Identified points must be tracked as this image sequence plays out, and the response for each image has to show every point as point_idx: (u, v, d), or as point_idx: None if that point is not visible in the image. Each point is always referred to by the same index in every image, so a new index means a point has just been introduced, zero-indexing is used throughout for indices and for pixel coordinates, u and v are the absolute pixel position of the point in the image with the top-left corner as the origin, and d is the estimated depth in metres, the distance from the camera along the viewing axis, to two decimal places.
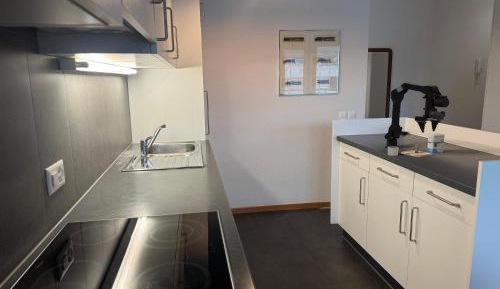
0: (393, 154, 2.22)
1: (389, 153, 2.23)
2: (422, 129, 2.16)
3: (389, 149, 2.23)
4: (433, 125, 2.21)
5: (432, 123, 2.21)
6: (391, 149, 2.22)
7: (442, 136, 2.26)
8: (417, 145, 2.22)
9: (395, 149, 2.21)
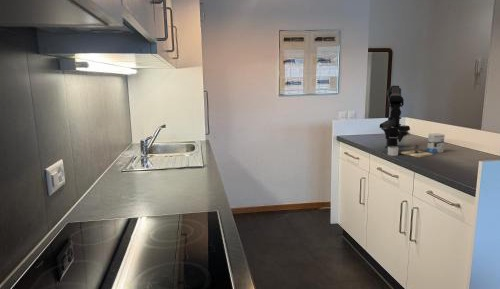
0: (393, 154, 2.22)
1: (389, 153, 2.23)
2: None
3: (389, 149, 2.23)
4: None
5: None
6: (391, 149, 2.22)
7: (442, 136, 2.26)
8: (417, 145, 2.22)
9: (395, 149, 2.21)
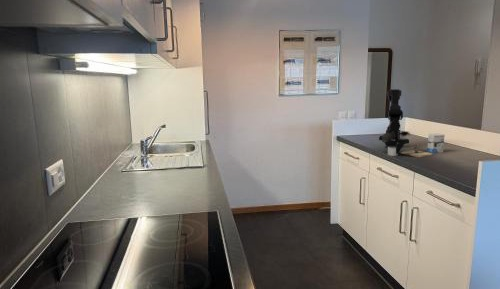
0: (393, 154, 2.22)
1: (389, 153, 2.23)
2: None
3: (389, 149, 2.23)
4: None
5: None
6: (391, 149, 2.22)
7: (442, 136, 2.26)
8: (417, 145, 2.22)
9: (395, 149, 2.21)
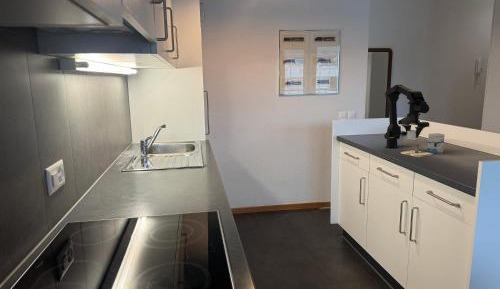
0: (413, 138, 2.19)
1: (408, 137, 2.21)
2: None
3: (408, 133, 2.21)
4: None
5: None
6: (411, 133, 2.20)
7: (442, 136, 2.26)
8: (417, 145, 2.22)
9: (415, 133, 2.19)
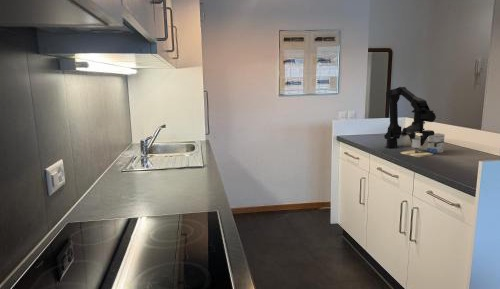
0: (417, 146, 2.21)
1: (413, 145, 2.22)
2: None
3: (413, 141, 2.22)
4: None
5: None
6: (415, 141, 2.21)
7: (442, 136, 2.26)
8: None
9: (419, 141, 2.20)
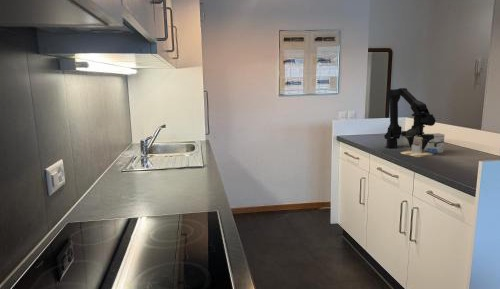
0: (417, 152, 2.21)
1: (413, 151, 2.23)
2: None
3: (413, 147, 2.22)
4: None
5: None
6: (415, 147, 2.21)
7: (442, 136, 2.26)
8: None
9: (419, 147, 2.21)
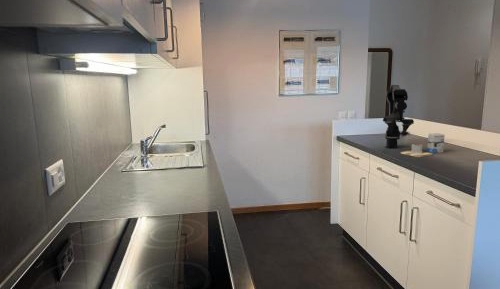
0: (417, 152, 2.21)
1: (413, 151, 2.23)
2: None
3: (413, 147, 2.22)
4: None
5: None
6: (415, 147, 2.21)
7: (442, 136, 2.26)
8: None
9: (419, 147, 2.21)
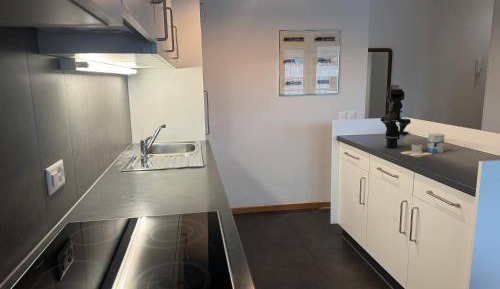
0: (417, 152, 2.21)
1: (413, 151, 2.23)
2: None
3: (413, 147, 2.22)
4: None
5: None
6: (415, 147, 2.21)
7: (442, 136, 2.26)
8: None
9: (419, 147, 2.21)
